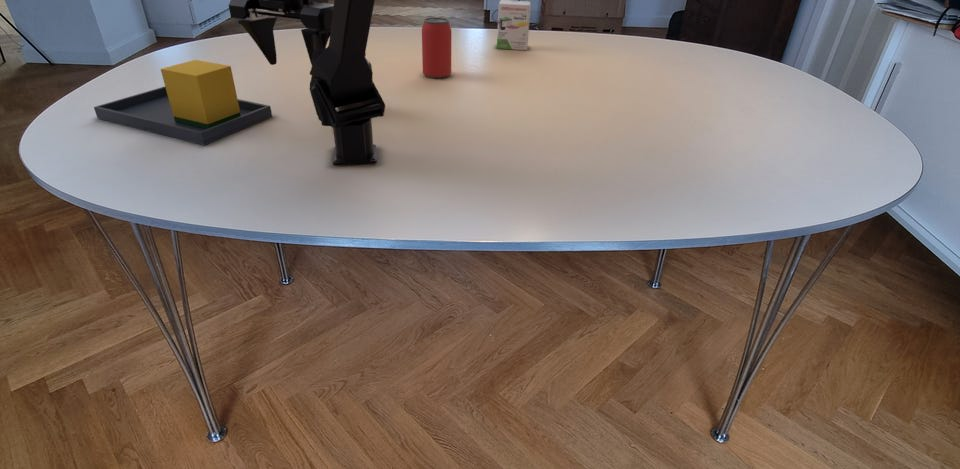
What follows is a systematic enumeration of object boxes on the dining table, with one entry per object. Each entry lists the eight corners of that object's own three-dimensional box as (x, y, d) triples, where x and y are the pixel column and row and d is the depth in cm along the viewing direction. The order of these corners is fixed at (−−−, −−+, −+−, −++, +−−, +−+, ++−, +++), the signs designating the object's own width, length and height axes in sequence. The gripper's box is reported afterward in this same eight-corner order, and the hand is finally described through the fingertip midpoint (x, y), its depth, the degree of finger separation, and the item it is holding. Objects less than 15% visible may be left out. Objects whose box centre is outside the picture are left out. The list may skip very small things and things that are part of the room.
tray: (272, 117, 98) (270, 105, 97) (204, 145, 86) (201, 132, 85) (172, 95, 106) (169, 84, 105) (97, 118, 94) (93, 107, 93)
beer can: (436, 69, 129) (435, 15, 122) (457, 75, 125) (457, 20, 119) (416, 74, 124) (414, 19, 118) (437, 80, 121) (437, 23, 114)
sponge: (241, 117, 95) (230, 65, 91) (209, 130, 90) (196, 75, 85) (207, 110, 98) (195, 59, 93) (174, 122, 93) (160, 68, 88)
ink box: (496, 48, 149) (498, 2, 143) (497, 44, 153) (499, -1, 147) (527, 50, 148) (530, 4, 142) (527, 46, 152) (531, 1, 146)
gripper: (363, -39, 83) (371, 64, 91) (270, -46, 90) (286, 51, 98) (314, -34, 75) (328, 80, 83) (216, -42, 81) (238, 64, 89)
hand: (295, 67), depth 88 cm, fingers open, 9 cm apart
